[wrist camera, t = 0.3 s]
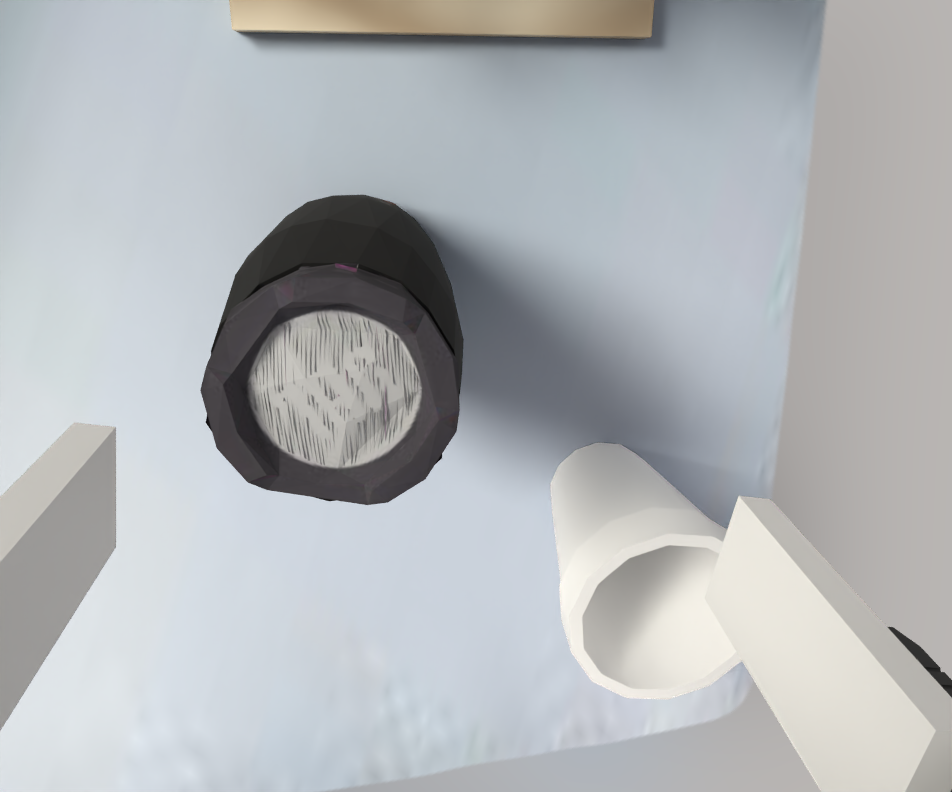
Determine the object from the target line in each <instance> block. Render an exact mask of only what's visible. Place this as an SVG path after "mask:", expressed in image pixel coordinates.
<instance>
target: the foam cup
mask: <svg viewBox="0 0 952 792" xmlns="http://www.w3.org/2000/svg"><path fill="white" fill-rule="evenodd" d="M550 489H551V504H552V515H553V523H554V531H555V539H556V548H557V556H558V564H559V572H560V580H561V583H560V585H559V589H560V605H561V621H562V624H563V627H564V630H565V633H566V637H567V640H568V643H569V646H570V649H571V653H572V654H573V655H574V657H575V658H576V660H577V661H578V662H579V664H580V665H581V667H582V668H583V669H584V671H585V672H586V674H587V675H588V676H589V678H590V679H591V681H592V682H594V683H596V684H598V685H600V686H602V687H605V688H607V689H609V690H611V691H613V692H615V693H617V694H619V695H621V696H623V697H625V698H641V699H671V698H674V697H677V696H680V695H683V694H686V693H689V692H692V691H695V690H698V689H702V688H705V687H708V686H710V685H711V684H712V683H714V682H715V681H716V680H718V679H719V678H720V677H721V676H723V675H724V674H725V673H727V672H728V671H729V670H731V669H732V668H733V667H734V666H736V665H737V664H738V663H740V662H741V661H742V660H741V658H740V656H739V655H738V653H737V651H736V650H735V648H734V647H733V645H732V643H731V642H730V640H729V638H728V637H727V635H726V633H725V632H724V630H723V628H722V627H721V625H720V623H719V622H718V620H717V618H716V617H715V615H714V613H713V612H712V610H711V608H710V607H709V605H708V603H707V602H706V600H705V595H706V592H707V589H708V586H709V583H710V580H711V577H712V574H713V571H714V568H715V565H716V562H717V559H718V556H719V553H720V550H721V547H722V544H723V541H724V538H725V535H726V532H727V529H726V528H724V527H722V526H721V525H719V524H717V523H715V522H714V521H712V520H710V519H709V518H708V517H707V516H706V515H705V514H704V513H702V512H701V511H700V510H699V509H698V508H697V507H696V506H695V505H694V504H692V503H691V502H690V501H689V500H688V499H687V498H686V497H685V496H684V495H682V494H681V493H680V492H679V491H678V490H677V489H676V488H675V487H674V486H672V485H671V484H670V483H669V482H668V481H667V480H666V479H665V478H664V477H662V476H661V475H660V474H659V473H658V472H657V471H656V470H655V469H653V468H652V467H651V466H650V465H649V464H648V463H647V462H646V461H645V460H643V459H642V458H641V457H639V456H638V455H637V454H636V453H634V452H632V451H631V450H629V449H627V448H626V447H624V446H622V445H621V444H612V443H600V442H597V443H594V444H591V445H588V446H585V447H582V448H580V449H577V450H575V451H574V452H573V453H572V454H570V455H569V456H568V457H567V458H566V459H565V460H564V461H563V462H561V463H560V464H559V466H558V468H557V470H556V472H555V475H554V477H553V479H552V481H551V484H550Z"/></svg>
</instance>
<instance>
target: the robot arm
mask: <svg viewBox="0 0 952 792" xmlns="http://www.w3.org/2000/svg"><path fill="white" fill-rule="evenodd" d="M115 547H116V427H110V426H100V425H91V424H82V423H73V424H72V425H71V426H70V427H69V428H68V429H67V430H66V431H65V432H64V433H63V434H62V435H61V436H60V437H59V438H58V439H57V440H56V441H55V442H54V443H53V444H52V445H51V447H50V448H49V449H48V450H47V451H46V452H45V453H44V454H43V455H42V456H41V457H40V458H39V459H38V460H37V461H36V462H35V463H34V464H33V465H32V466H31V467H30V468H29V469H28V470H27V471H26V472H25V473H24V474H23V475H22V476H21V477H20V478H19V479H18V480H17V481H16V482H15V483H14V484H13V485H12V486H11V487H10V488H9V489H8V490H7V491H6V492H5V493H4V494H3V495H2V496H1V497H0V730H1V729H2V727H3V726H4V724H5V722H6V721H7V719H8V718H9V716H10V715H11V713H12V711H13V710H14V708H15V707H16V705H17V703H18V702H19V700H20V699H21V697H22V695H23V694H24V692H25V691H26V689H27V687H28V686H29V684H30V683H31V681H32V680H33V678H34V676H35V675H36V673H37V672H38V670H39V668H40V667H41V665H42V664H43V662H44V660H45V659H46V657H47V656H48V654H49V652H50V651H51V649H52V648H53V646H54V645H55V643H56V641H57V640H58V638H59V637H60V635H61V633H62V632H63V630H64V629H65V627H66V625H67V624H68V622H69V621H70V619H71V617H72V616H73V614H74V613H75V611H76V610H77V608H78V606H79V605H80V603H81V602H82V600H83V598H84V597H85V595H86V594H87V592H88V590H89V589H90V587H91V586H92V584H93V582H94V581H95V579H96V578H97V576H98V575H99V573H100V571H101V570H102V568H103V567H104V565H105V563H106V562H107V560H108V559H109V557H110V555H111V554H112V552H113V551H114V549H115ZM705 600H706V602H707V603H708V605H709V607H710V608H711V610H712V612H713V613H714V615H715V617H716V618H717V620H718V622H719V623H720V625H721V627H722V628H723V630H724V632H725V633H726V635H727V637H728V638H729V640H730V642H731V643H732V645H733V647H734V648H735V650H736V651H737V653H738V655H739V656H740V658H741V660H742V661H743V663H744V665H745V666H746V668H747V670H748V671H749V673H750V675H751V676H752V678H753V680H754V681H755V683H756V684H757V686H758V688H759V690H760V691H761V693H762V695H763V696H764V698H765V700H766V701H767V703H768V705H769V706H770V708H771V710H772V711H773V713H774V715H775V716H776V718H777V720H778V721H779V723H780V725H781V726H782V728H783V729H784V731H785V733H786V735H787V736H788V738H789V739H790V741H791V743H792V744H793V746H794V748H795V749H796V751H797V753H798V754H799V756H800V758H801V759H802V761H803V763H804V764H805V766H806V768H807V769H808V771H809V773H810V774H811V776H812V778H813V779H814V781H815V783H816V784H817V786H818V787H819V789H820V791H821V792H952V680H951V679H950V678H949V677H948V676H947V675H946V674H945V673H944V672H941V671H940V667H939V666H938V665H937V664H936V663H935V662H934V661H933V660H932V659H931V658H930V657H929V655H928V654H927V653H926V652H925V651H924V650H923V649H922V648H921V647H920V646H919V645H917V644H916V643H914V642H913V641H912V640H910V639H909V638H907V637H906V636H904V635H903V634H902V633H900V632H899V631H897V630H896V629H895V628H893V627H887V626H886V625H885V624H884V623H883V622H882V621H881V620H880V619H879V618H878V616H877V615H876V614H875V613H874V612H873V611H872V610H871V609H870V608H869V607H868V605H867V604H866V603H865V602H864V601H863V600H862V599H861V598H860V597H859V596H858V594H856V592H855V591H854V590H853V589H852V588H851V587H850V586H849V585H848V584H847V583H846V581H845V580H844V579H843V578H842V577H841V576H840V575H839V574H838V573H837V572H836V570H835V569H834V568H833V567H832V566H831V565H830V564H829V563H828V562H827V561H826V559H825V558H824V557H823V556H822V555H821V554H820V553H819V552H818V551H817V550H816V549H815V547H814V546H813V545H812V544H811V543H810V542H809V541H808V540H807V539H806V537H805V536H804V535H803V534H802V533H801V532H800V531H799V530H798V529H797V528H796V527H795V525H794V524H793V523H792V522H791V521H790V520H789V519H788V518H787V517H786V516H785V515H784V513H783V512H782V511H781V510H780V509H779V508H778V507H777V506H776V505H775V504H774V502H773V501H772V500H771V499H764V498H755V497H746V496H738V499H737V502H736V505H735V508H734V511H733V514H732V517H731V520H730V523H729V526H728V529H727V532H726V535H725V538H724V541H723V544H722V547H721V550H720V553H719V556H718V559H717V562H716V565H715V568H714V571H713V574H712V577H711V580H710V583H709V586H708V589H707V592H706V595H705Z"/></svg>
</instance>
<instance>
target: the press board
mask: <svg viewBox="0 0 952 792" xmlns="http://www.w3.org/2000/svg"><path fill="white" fill-rule="evenodd" d="M229 2H230V12H231V23H232V30H234V31H237V32H276V33H334V34H391V35H449V36H507V37H565V38H623V39H645V38H649V37H651V34H652V22H653V10H654V0H229Z"/></svg>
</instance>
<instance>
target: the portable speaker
mask: <svg viewBox="0 0 952 792" xmlns="http://www.w3.org/2000/svg"><path fill="white" fill-rule="evenodd" d="M462 358H463V336H462V332H461V327H460V323H459V318H458V314H457V309H456V305H455V300H454V296H453V291H452V287H451V283H450V281H449V279H448V276H447V274H446V272H445V269H444V267H443V265H442V262H441V260H440V257H439V255H438V253H437V250H436V248H435V246H434V244H433V242H432V241H431V240H430V238H429V237H428V236H427V234H426V233H425V232H424V231H423V229H422V228H421V227H420V225H419V224H418V223H417V222H416V220H415V219H414V218H413V217H412V216H410V215H409V214H407V213H406V212H405V211H403V210H402V209H401V208H399V207H398V206H396V204H394V203H392V202H389V201H385V200H382V199H377V198H374V197H370V196H366V195H341V196H330V197H326V198H322V199H318V200H314V201H310V202H307V203H306V204H304V205H303V206H301V207H300V208H298V209H297V210H295V211H294V212H292V213H291V214H289V215H288V216H286V217H285V218H284V219H283V220H282V221H281V222H280V223H279V225H278V226H277V227H276V228H275V229H274V230H273V231H272V232H271V233H270V234H269V235H268V236H267V237H266V238H265V239H264V240H263V241H262V242H261V243H260V244H259V245H258V246H257V247H256V248H255V249H254V250H253V251H252V252H251V253H250V254H249V255H248V257H247V258H246V260H245V261H244V263H243V264H242V266H241V267H240V269H239V270H238V272H237V273H236V275H235V278H234V281H233V285H232V288H231V291H230V294H229V297H228V300H227V303H226V306H225V309H224V312H223V315H222V319H221V322H220V325H219V328H218V331H217V334H216V337H215V340H214V343H213V347H212V350H211V357H210V359H209V361H208V364H207V366H206V370H205V374H204V378H203V382H202V386H201V394H202V397H203V401H204V404H205V408H206V411H207V419H206V423H207V425H208V426H209V428H210V429H211V431H212V433H213V436H214V440H215V443H216V447H217V449H218V450H219V451H220V452H221V453H222V454H223V456H224V457H225V458H226V459H227V460H228V461H229V462H230V463H231V464H232V466H233V467H234V468H235V469H236V470H237V471H238V472H239V473H240V474H241V475H242V477H243V478H244V479H245V480H246V481H247V482H248V483H251V484H253V485H256V486H258V487H261V488H264V489H266V490H271V491H278V492H284V493H291V494H298V495H304V496H311V497H315V498H319V499H323V500H326V501H335V500H338V501H345V502H351V503H358V504H365V505H371V504H378V503H386V502H389V501H391V500H392V499H394V498H396V497H397V496H399V495H400V494H402V493H404V492H405V491H407V490H408V489H410V488H412V487H413V486H415V485H417V484H418V483H420V482H421V481H423V480H425V479H426V477H427V476H428V474H429V473H430V471H431V470H432V468H433V466H434V465H435V464H436V463H437V462H438V461H439V460H440V459H441V458H442V453H443V451H444V450H445V448H446V446H447V445H448V443H449V442H450V440H451V439H452V437H453V436H454V434H455V433H456V430H457V423H458V416H459V394H460V386H461V375H462Z"/></svg>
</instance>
